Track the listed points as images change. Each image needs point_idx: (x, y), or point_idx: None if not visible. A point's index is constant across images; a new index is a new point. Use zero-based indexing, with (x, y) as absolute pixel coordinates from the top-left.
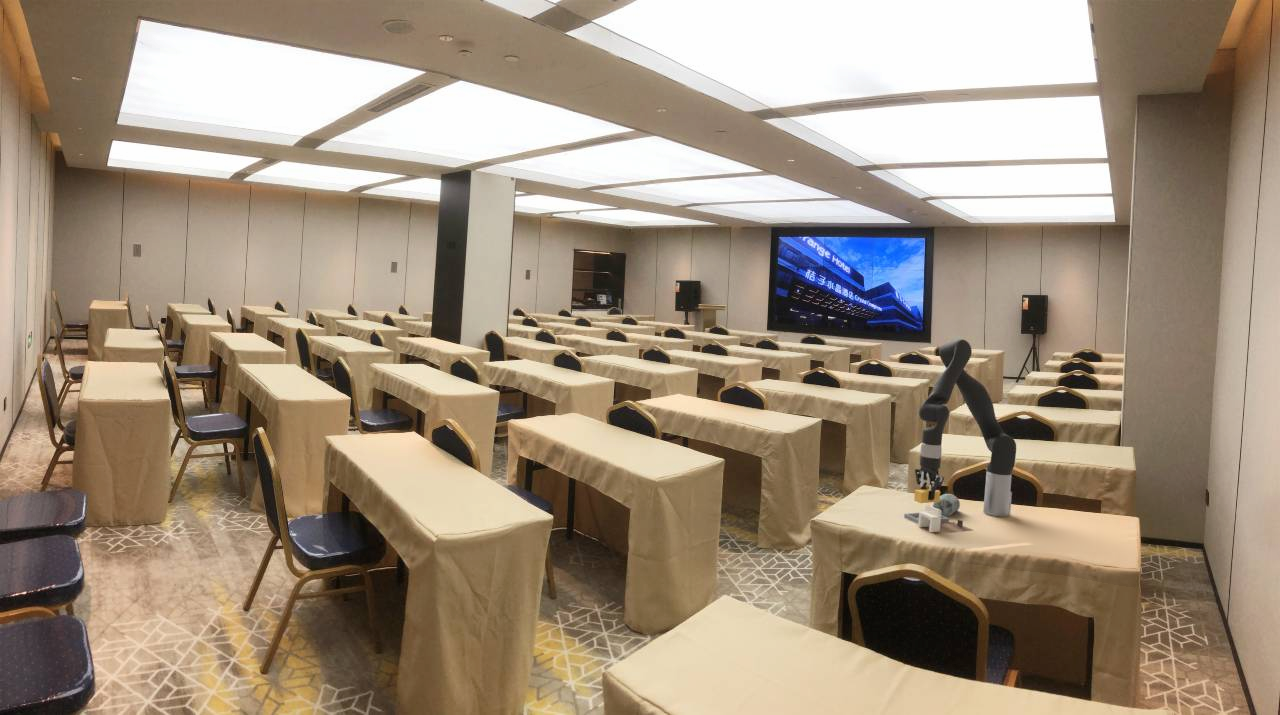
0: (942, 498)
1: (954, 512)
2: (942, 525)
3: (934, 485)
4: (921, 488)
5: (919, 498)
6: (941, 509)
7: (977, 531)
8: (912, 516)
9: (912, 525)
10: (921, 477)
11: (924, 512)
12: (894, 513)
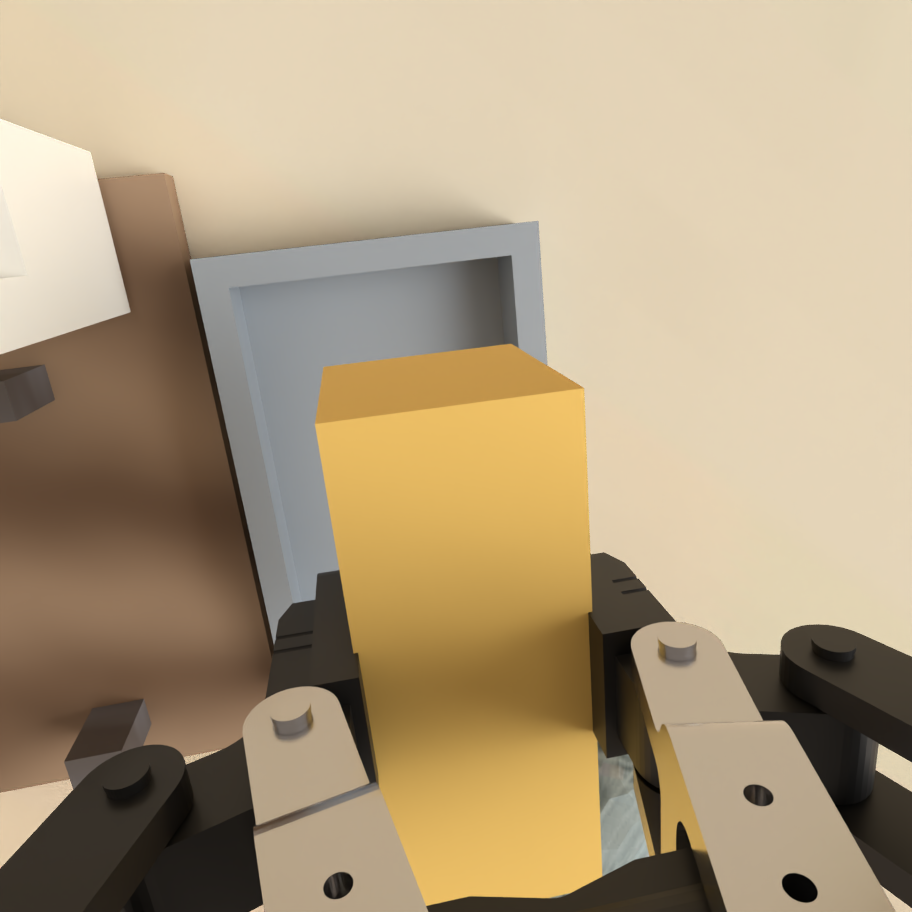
0: None
1: None
2: (155, 536)
3: (40, 908)
4: (629, 616)
5: (366, 376)
6: None
7: None
8: (406, 266)
9: (285, 192)
10: (821, 839)
11: None
12: (753, 254)
